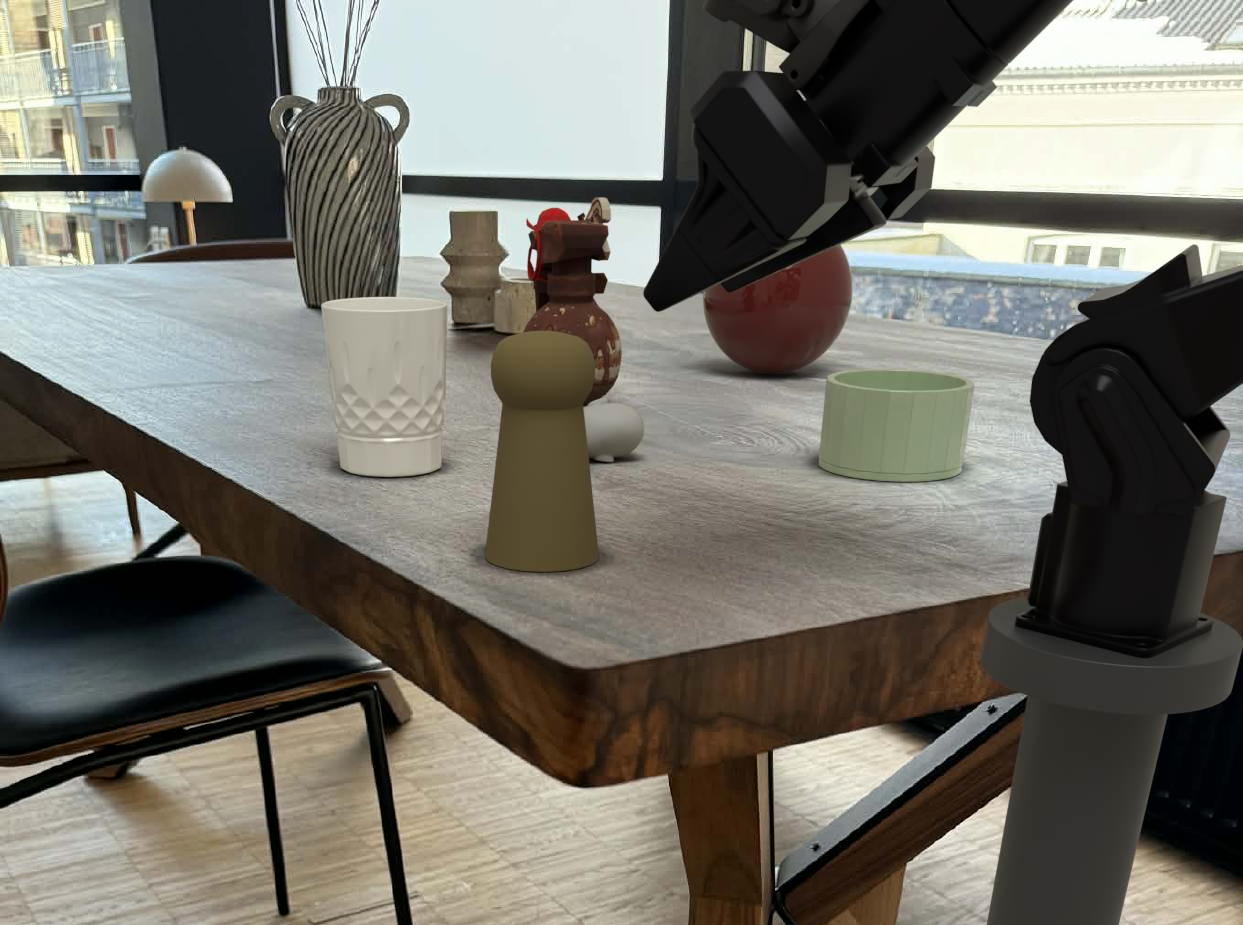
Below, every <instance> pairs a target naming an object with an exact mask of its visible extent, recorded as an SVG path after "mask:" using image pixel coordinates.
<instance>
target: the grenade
mask: <svg viewBox="0 0 1243 925" xmlns="http://www.w3.org/2000/svg"><path fill="white" fill-rule="evenodd" d="M576 218H577V220H575V219H573V220H572V219H571V217H570V216H569V214H568V212H566V211H565V210H564V209H563V208H560V207H550V208H547V209H545V210H543V211H541V212H540V213H539V215H538V218H537V222H536V224H534V225H533V224H532V223H531V222H530V221H529V219H528V218H526V220H525V222H526V227H528V228H529V229H531V230H530V232H529V233H528V239H529V242H530V245H529V248H528V253H527V265H526V268H527V270H526V272H527V279H528V280H529V281H531V282H532V283H533V287H532V289H533V290H534V300H535V312H534V313H533V315H532V316H531V317H530V319H529V320H528V322H527V324H526V326H525V327H524V329H523V331H522V333H524V332H530V331H555V332H561V333H566V334H570V335H573V336H577V337H579V338H581V339H582V340H584V341H585V342H586V343H588V345H589V347H590V349H591V351H592V353H593V357H594V361H595V379H594V383H593V387H592V390H591V392H590V394H589V395H588V397H587V398H586V400H585V401H584V403H583V407H586V406H588V404H589V403H590V402H592V401H595V400H597V399H601V398H604V397H605V396H606V395H607V394H608V393H609V392H610V390H611V389H612V388H613V387H614V386H615V384H616V382H617V380H618V378H619V374H620V371H621V370H620V369H621V364H622V355H623V354H622V353H623V352H622V341H621V337H620V334H619V331H618V329H617V326H616V324H615V322H614V320H612V318H611V316H610V315H609V313H607V312H606V311H604V309H603V308H601V307H600V306H599V304H598V303H597V301H596V300H595V298H594V297H595V295H604V293H605V291H606V288H607V285H608V281H609V279H608V278H607V275H606V273H605V272H592V264H593V263H592V262H593V261H596V262H600V261H601V262H602V261H609V259H610V255H611V248H610V245H609V242H608V237H609V235H610V233H609V226H608V225H607V224H608V223H609V222H611V221H612V210H611V205H610V202H609V200H608V198H607V197H595V198H593V199H592V201H591V204H590V207H589V209H588V212H587V214H585V212H581V213H580V214H579V215H577V216H576ZM533 250H534V251H535V252H536V260H535V261H536V262H535V267H534V265H533V264H532V261H531V259H532V253H533Z"/></svg>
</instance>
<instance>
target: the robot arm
mask: <svg viewBox="0 0 1243 925" xmlns="http://www.w3.org/2000/svg"><path fill="white" fill-rule="evenodd" d="M1136 1H1137V2H1140V3H1144V2H1147V1H1148V0H1136ZM1072 2H1074V0H704V3H703V5H702V9H703V11H705V12H706V13H707V14H709V15H710V16H711V17H713V18H715V19H717V20H719V21H720V22H723V23H729V22H730V21H731V22H733V23H735V24H737V25H738V26H740V27H741V28H743V29H745V30H747V31H749V32H750V33H752V34H754V35H755V36H757V37H759V38H761V39H762V40H764V41H766V42H767V43H769V44H770V45H773V46H774V47H776V48H777V49H780V50H782V51H784V52H786V53H788V55H787V56H786V57H785V59H784V60H783V61H781V63H780V64H779V65H778V68H779V70H780V71H781V72H776V71H765V70H764V71H763V70H723V71H722V72H721V73H720V74H719V75H718V77H717V78H716V79H715V80H714V81H713V82H712V84H711V85H710V86H708V88H707V89H706V91H705V92H703V94H702V95H701V96H700V97H699V99H698V100H696V102H695V103H694V104H693V105H692V107H691V108H690V109H689V113H690V116H691V119H692V123H693V125H692V130H691V141H692V144H693V146H694V147H695V150H696V154H697V155H696V156H697V157H696V158H697V183H696V186H695V189H694V192H693V193H692V196H691V198H690V200H689V202H688V204H687V206H686V209H685V211H684V213H683V214H682V216H681V219H680V221H679V222H678V224H677V226H676V228H675V230H674V232H673V234H672V235H671V238H670V240H669V241H668V243H667V245H666V247H665V249H664V251H663V253H662V255H661V257H660V259H659V260H658V263H657V264H656V265H655V268H654V269H653V272H652V273H651V275H650V277H649V279H648V281H647V283H646V285H645V287H644V288H643V291H642V295H643V297H644V299H645V300H646V302H647V303H648V305H649V306H650V307H651V308H652V310H654V312H656V313H660V312H664V311H665V310H668V309H670V308H672V307H674V306H677V305H678V304H681V303H682V302H685V301H687V300H689V299H691V298H693V297H694V296H697V295H699V294H702V293H703V291H705V290H707V289H709V288H711V287H714V286H716V285H718V284H721V285H722V287H723V288H724V289H725V290H726V291H727V292H729V293H731V292H735V291H737V290H739V289H741V288H743V287H746V286H748V285H750V284H752V283H755V282H757V281H759V280H761V279H764V278H766V277H768V276H770V275H773V274H775V273H777V272H779V271H782V270H784V269H786V268H788V267H791V266H793V265H795V264H797V263H799V262H802V261H804V260H807V259H809V258H811V257H813V256H816V255H818V254H820V253H823V252H825V251H827V250H829V249H832V248H834V247H836V246H838V245H841V246H842V245H843V244H845V243H847V242H850V241H852V240H854V239H856V238H859V237H862V236H864V235H866V234H868V233H870V232H872V231H875V230H878V229H880V228H882V227H885V226H886V225H887V220H893V219H899V218H902V217H903V216H904V215H905V214H906V213H907V212H908V211H909V210H910V209H911V208H912V207H914V205H916V203H917V202H919V200H921V199H922V197H924V196H925V195H926V194H927V193H928V192H929V191H930V190H931V189H932V186H933V180H934V179H933V178H934V170H935V164H936V155H935V154H934V153H933V152H932V151H931V149H930V148H929V147H928V145H929V144H930V143H931V142H932V141H933V140H934V139H935V138H936V137H937V136H938V135H939V134H940V133H941V132H942V131H943V130H944V129H945V128H946V127H947V126H948V125H950V123H951V122H953V120H954V119H956V117H957V116H958V115H959V114H960V113H962V111H964V109H965V108H966V107H973V108H978V107H979V106H980V105H981V104H983V102H984V101H985V100H986V99H988V97H989V96H990V95H992V93H993V92H994V91H995V90H996V89H998V86H997V85H996V83H995V82H994V80H995V79H996V78H997V77H998V76H999V75H1000V74H1001V73H1002V72H1003V71H1004V70H1005V69H1006V68H1007V67H1008V66H1009V64H1011V63H1012V62H1013V61H1014V60H1015V59H1016V58H1017V57H1018V56H1019V55H1020V54H1021V53H1022V52H1023V51H1025V49H1026V48H1027V47H1028V46H1029V45H1030V44H1031V43H1032V42H1033V41H1034V40H1035V39H1036V38H1037V37H1038V36H1039V35H1041V33H1042V32H1043V31H1044V30H1046V28H1047V27H1048V26H1049V25H1050V24H1051V23H1052V22H1054V20H1055V19H1057V18H1058V17H1059V15H1060V14H1061V13H1062V12H1063V11H1064V10H1065V9H1067V7H1069V5H1070V4H1072ZM800 93H801V94H800ZM802 96H803V97H802ZM878 189H879V190H880V191H881V193H882V194H883V195H884V197H885V198H886V201H885V202H884V204H883V205H882V206H881V207H880V208H879V207H878V205H877V204H876V203H875V201H874V200H873V198H872V197H871V196H872V195H873V194H874V193H875V192H877V190H878ZM1077 311H1078V313H1080V314H1082V315H1083V316H1084V318H1082V319H1081V320H1079V321H1077V322H1076V323H1075V324H1073V325H1071V327H1069V328H1068V329H1066V330H1065V331H1063V332H1062V333H1061V334H1059V335H1057V337H1055V339H1054V340H1053V341H1051V343H1050V344H1049V345H1048V346H1047V347H1046V348H1045V350H1044V351H1043V353H1042V354H1041V356H1040V359H1039V361H1038V363H1037V366H1036V368H1035V370H1034V373H1033V375H1032V377H1031V384H1030V385H1031V386H1030V394H1029V405H1030V409H1031V414H1032V419H1033V423H1034V425H1035V427H1036V428H1037V430H1038V432H1039V434H1040V435H1041V437H1042V438H1043V440H1044V442H1045V443H1047V444H1048V445H1049V446H1050V447H1051V448H1052V449H1054V450H1055V451H1056V452H1058V453H1059V454H1060V455H1061V457H1062V463H1063V467H1064V473H1065V479H1066V480H1064V481H1062V482H1058V483H1057V485H1056V489H1055V495H1054V500H1053V505H1052V511H1051V512H1047V513H1046V514H1045V515H1044V516H1042V517H1041V518H1040V519H1041V520H1040V526H1039V531H1038V537H1037V542H1036V547H1035V554H1034V560H1033V565H1032V572H1031V576H1030V583H1029V589H1028V593H1027V596H1028V599H1027V600H1028V603H1029V605H1030V606H1033V607H1035V608H1033V609H1031V610H1028V611H1025V612H1023V613H1020V614H1018V615H1016V620H1015V626H1017V627H1019V628H1023V629H1027V630H1031V631H1035V632H1039V633H1043V634H1047V635H1051V636H1055V637H1059V638H1063V639H1066V640H1070V641H1074V642H1078V643H1082V644H1086V645H1090V646H1094V647H1098V648H1102V649H1106V650H1110V651H1114V652H1118V653H1122V654H1126V655H1130V656H1134V657H1138V658H1152V657H1154V656H1156V655H1159V654H1161V653H1163V652H1165V651H1167V650H1169V649H1172V648H1174V647H1176V646H1178V645H1180V644H1182V643H1185V642H1187V641H1189V640H1191V639H1193V638H1195V637H1198V636H1200V635H1202V634H1204V633H1206V632H1208V631H1210V630H1211V629H1212V625H1213V619H1211V618H1208V617H1204V616H1199V614H1200V613H1201V609H1202V606H1203V602H1204V597H1205V593H1206V588H1207V584H1208V580H1209V576H1210V571H1211V567H1212V564H1213V559H1214V554H1215V550H1216V545H1217V542H1218V537H1219V533H1220V528H1221V524H1222V520H1223V515H1224V512H1225V507H1226V503H1227V499H1228V497H1227V496H1226V495H1221V494H1216V493H1215V494H1214V493H1211V492H1209V491H1207V490H1206V489H1207V488H1208V485H1209V484H1210V483H1211V481H1212V479H1213V478H1214V476H1215V474H1216V471H1217V469H1218V467H1219V464H1220V462H1221V460H1222V457H1223V455H1224V453H1225V450H1226V448H1227V445H1228V443H1229V441H1230V438H1231V431H1230V429H1229V428H1228V426H1227V425H1226V424H1225V423H1224V421H1223V420H1222V418H1220V416H1219V415H1218V413H1217V412H1216V411H1215V410H1214V408H1213V407H1212V406H1213V405H1214V404H1216V403H1217V402H1218V401H1220V400H1221V399H1223V398H1225V397H1226V396H1228V394H1230V393H1231V392H1233V391H1234V390H1236V389H1237V388H1239V387H1240V386H1242V385H1243V264H1241V265H1237V266H1234V267H1231V268H1226V269H1223V270H1219V271H1215V272H1212V273H1208V274H1204V275H1203V270H1202V262H1201V256H1200V247H1199V246H1198V244H1194V243H1193V244H1191V245H1190V246H1188V247H1186V248H1185V249H1184V250H1182V251H1181V252H1180V253H1178V254H1177V255H1176V256H1174V257H1173V258H1171V259H1169V261H1167V262H1166V263H1163V265H1161V266H1160V267H1159V268H1157V269H1156V270H1154V271H1153V272H1151V273H1149V274H1148V275H1145V277H1143V278H1141V279H1138V280H1136V281H1133V282H1130V283H1127V284H1124V285H1116V286H1107V287H1106V286H1105V287H1103V288H1101V289H1100V290H1098V291H1096V292H1094V293H1093V294H1092V295H1090V296H1088V297H1087V298H1085V299H1084V300H1082V301H1080V302H1079V303H1078V305H1077Z"/></svg>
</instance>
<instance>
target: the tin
mask: <svg viewBox="0 0 1243 925" xmlns="http://www.w3.org/2000/svg"><path fill="white" fill-rule="evenodd" d="M825 380H826V382H825V391H824V400H823V411H822V423H821V433H820V441H819V442H820V443H819V450H818V451H819V453H818V466H819V467H820V469H823V470H825V471H827V472H828V473H829V472H830V473H831V474H835V475H839V476H843V477H847V478H848V477H849V478H854V479H860V480H868V481H877V482H891V483H892V482H893V483H894V482H895V483H897V482H898V483H915V482H917V483H918V482H931V481H933V482H934V481H940V480H946V479H949V478H950V479H951V478H953V477H956V476H958V475H960V474H961V472H962V469H963V464H964V461H965V454H966V448H967V447H966V446H967V441H968V433H969V426H970V420H971V412H972V407H973V406H972V405H973V400H974V399H973V398H974V392H975V385H976V384H975V382H974V380H972V379H969V378H967V377H964V376H961V375H957V374H952V373H945V372H939V371H938V372H936V371H930V370H917V369H903V368H902V369H900V368H899V369H897V368H866V369H865V368H863V369H862V368H861V369H851V370H850V369H849V370H842V371H839V372H838V371H837V372H833V373H830V374H828V375H827V376H826V379H825Z"/></svg>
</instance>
